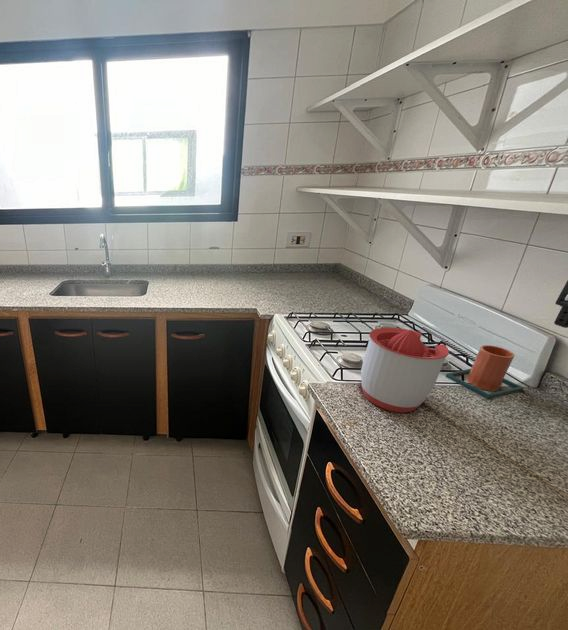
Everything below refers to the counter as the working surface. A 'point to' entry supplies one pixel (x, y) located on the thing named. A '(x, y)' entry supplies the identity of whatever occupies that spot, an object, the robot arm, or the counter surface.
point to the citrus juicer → (399, 369)
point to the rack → (488, 396)
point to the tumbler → (490, 367)
